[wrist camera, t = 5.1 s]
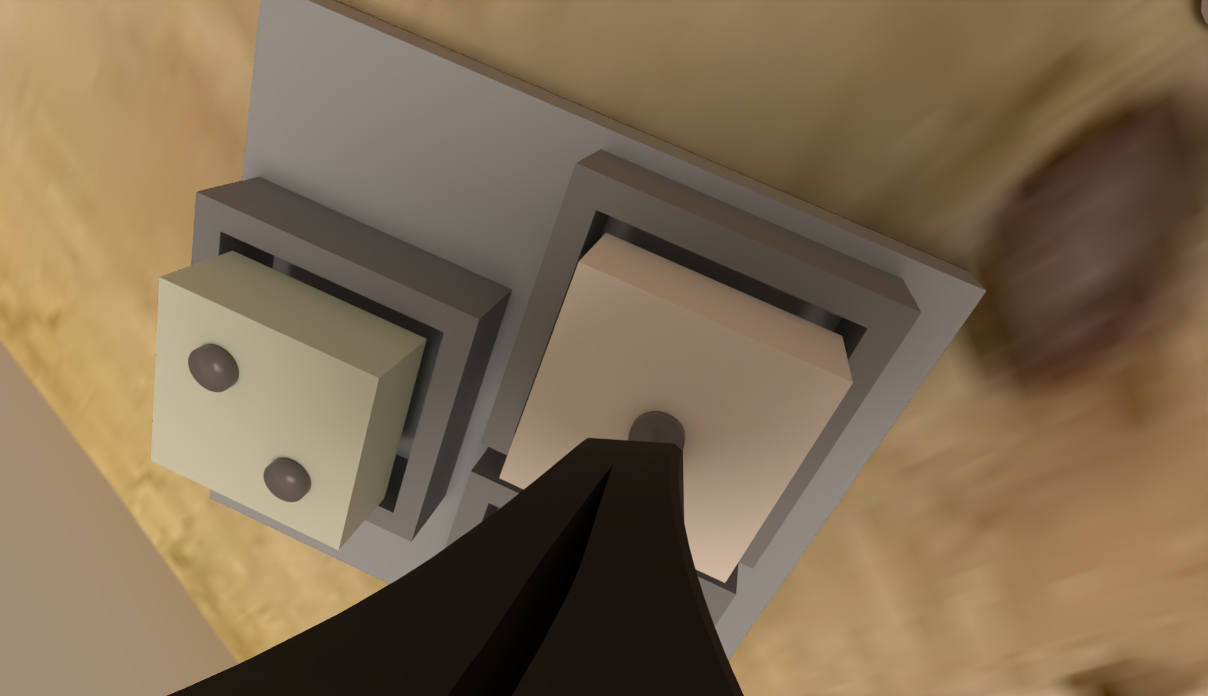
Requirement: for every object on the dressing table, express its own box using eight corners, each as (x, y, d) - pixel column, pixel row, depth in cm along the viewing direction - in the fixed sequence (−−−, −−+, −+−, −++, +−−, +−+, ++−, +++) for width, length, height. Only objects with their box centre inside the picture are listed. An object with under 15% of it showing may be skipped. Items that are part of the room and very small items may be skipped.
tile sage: (426, 338, 13) (372, 383, 12) (384, 498, 15) (332, 556, 14) (232, 250, 14) (149, 281, 12) (215, 418, 16) (143, 466, 14)
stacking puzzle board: (969, 271, 13) (1018, 327, 11) (688, 688, 20) (674, 788, 17) (301, -14, 14) (190, -29, 11) (239, 474, 20) (158, 537, 18)
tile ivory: (842, 336, 11) (854, 389, 10) (731, 518, 13) (724, 591, 12) (606, 232, 12) (575, 265, 10) (531, 427, 14) (495, 484, 12)
